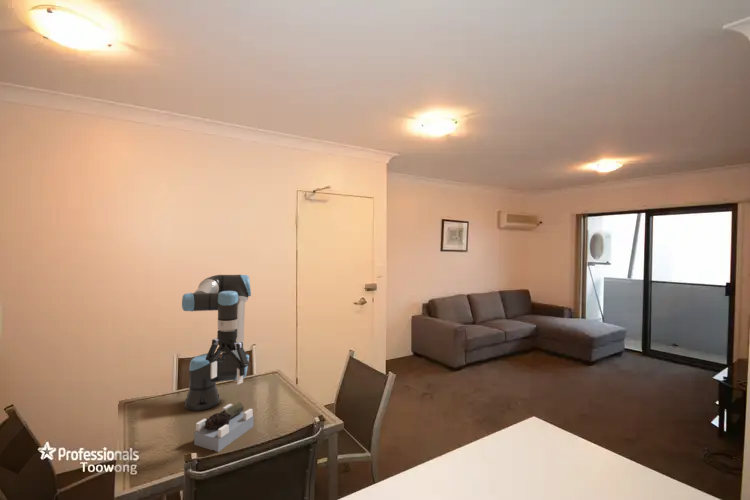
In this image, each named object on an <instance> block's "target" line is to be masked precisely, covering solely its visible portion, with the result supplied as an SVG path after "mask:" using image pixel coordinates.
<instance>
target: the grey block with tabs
mask: <svg viewBox="0 0 750 500" xmlns="http://www.w3.org/2000/svg"><path fill="white" fill-rule="evenodd" d="M231 406H233V403H228V404H226V405H225V406H223V407H222V411H224V410H226V409H227V408H229V407H231ZM253 413H254V409H253V408H248V409H247V410H245V411H242V412H241V413H239V414H237V415H235V416H233V417H231V418H230V420H229V424H228V425H224V426H223V427H220V428H214V429H211V430H207V429H204V427H205V424H206V423H205V421H206V420H207V419H208V418H203V419H201V420H199V421H197V422H196V424H195V431H194V437H193V438H194V440H193V441H194V443H193V444H194V446H198V447H200V448H204V449H207V450H210V451H213V450H214V452H217V453H220V452H221V451H222V450H224V449H225V448H226V447H227V446H229V445H230V444H232V443H233V442H234V441H236V440H237V439H238V438H239V437H241V436H242V435H243V434H244V435H245V433H247V431H249V430H251V429H252V428H253V427H254V423H255V422H254V418H255V416H254V414H253Z"/></svg>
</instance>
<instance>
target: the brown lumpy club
mask: <svg viewBox="0 0 750 500" xmlns="http://www.w3.org/2000/svg"><path fill="white" fill-rule="evenodd" d="M244 407H245V406H244V405H243V403H241V402H237V403H235V404H232V406H231V407H229V408H227V409H226V410H224V411H223V410H222V411H220V412H216V413H213V414H212V415H210V416H209V418H206V419H207V420H206V421H205V423H206V424H205V427H204V429H207V430H211V429H214V428H220V427H223V426H224V425H228V424H229V420H230V418H231V417H233V416H235V415H237V414H239V413H241V412H244Z"/></svg>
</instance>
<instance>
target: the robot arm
mask: <svg viewBox="0 0 750 500" xmlns="http://www.w3.org/2000/svg"><path fill="white" fill-rule="evenodd" d="M251 296H252V291H251V281H250V277H249V276H248V274H216V275H212V276H208V277H206V278H205V279H204V278H203V280H201V282H200V283H199V285H198V288H197V289H196V290H195V291H194V292H188V293H187V292H186V293H184V294H183V295H182V298H181V308H182V310H183V311H184V312H202V311H203V312H206V311H207V312H208V311H210V312H211V311H212V312H213V311H217V333H216V334H217V335H216V336H217V338H213V339H211V345H210V347H209V349H208V352H207V353H204V354H203V353H202V354H200V355H196V356H194V357H193V358H192V359H191V360H190V362H189V369H188V371H189V376H188V377H189V380H188V381H189V383H188V384H189V386H188V387H189V388H188V393H187V396H186V398H185V401H184V408H185V409H186V410H189V411H192V412H193V411H194V412H195V411H197V412H198V411H205V410H208V409H211V408H213V407H215V406H217V405H218V404H219V403H220V393H219V392H218V389H217V382H228V381H229V382H230V381H236V385H237V386H238V385H240V384H243V383H244V379H245V378H246V376H247V375H248V374H247V373H248V368H249V366H250V363H249V361H250V355H249V354H247V350H246V349H245V348H244V344H245V343H244V342H245V341H244V340H245V316H246V315H245V313H246V311H245V309H246V302H247V301H249V297H251ZM220 355H221V356H220Z"/></svg>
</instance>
